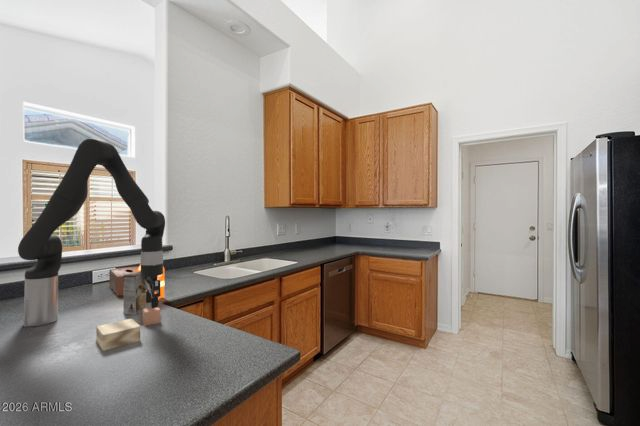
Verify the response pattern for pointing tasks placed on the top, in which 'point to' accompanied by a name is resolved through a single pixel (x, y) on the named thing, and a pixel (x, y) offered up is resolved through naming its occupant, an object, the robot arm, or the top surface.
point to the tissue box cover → (120, 278)
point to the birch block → (117, 334)
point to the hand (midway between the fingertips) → (152, 305)
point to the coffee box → (134, 294)
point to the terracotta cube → (151, 316)
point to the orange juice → (162, 282)
